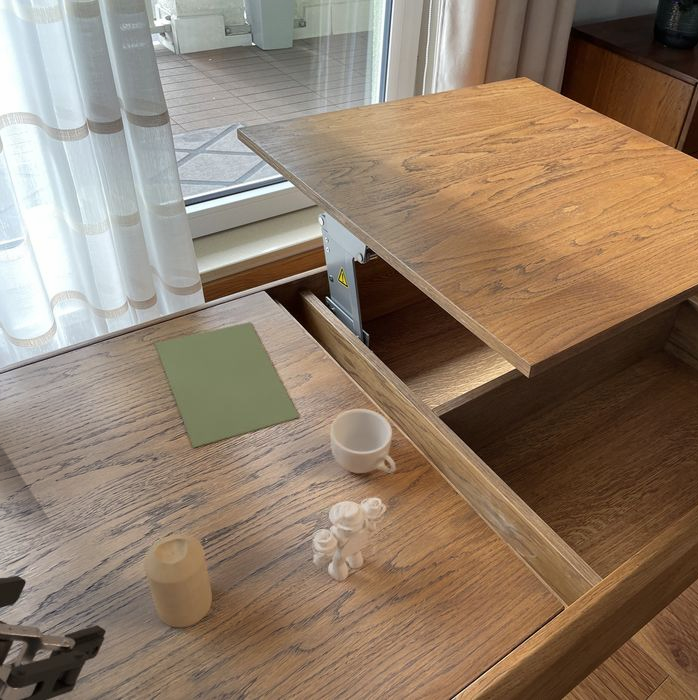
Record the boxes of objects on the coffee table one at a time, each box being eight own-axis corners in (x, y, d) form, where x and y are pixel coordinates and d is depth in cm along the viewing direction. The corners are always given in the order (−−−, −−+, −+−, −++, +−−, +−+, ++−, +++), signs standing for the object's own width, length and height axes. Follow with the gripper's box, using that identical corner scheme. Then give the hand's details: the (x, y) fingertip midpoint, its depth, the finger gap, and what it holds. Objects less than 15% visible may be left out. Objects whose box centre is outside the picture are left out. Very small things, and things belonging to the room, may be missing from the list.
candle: (199, 571, 78) (187, 516, 72) (221, 609, 75) (212, 555, 69) (148, 597, 75) (132, 542, 69) (169, 638, 72) (154, 584, 66)
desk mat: (193, 448, 91) (193, 447, 91) (155, 344, 105) (155, 343, 105) (299, 417, 97) (299, 416, 97) (250, 323, 111) (250, 322, 111)
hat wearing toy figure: (324, 602, 77) (324, 537, 70) (303, 577, 79) (301, 511, 72) (388, 555, 83) (395, 490, 75) (367, 533, 85) (371, 467, 77)
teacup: (317, 457, 92) (317, 428, 89) (361, 427, 97) (362, 399, 94) (370, 502, 88) (372, 474, 85) (413, 469, 93) (417, 442, 89)
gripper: (-263, 670, 43) (-26, 616, 59) (-102, 796, 39) (105, 702, 55) (-207, 555, 44) (14, 531, 59) (-42, 668, 40) (146, 611, 55)
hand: (58, 614), depth 57 cm, fingers open, 8 cm apart
